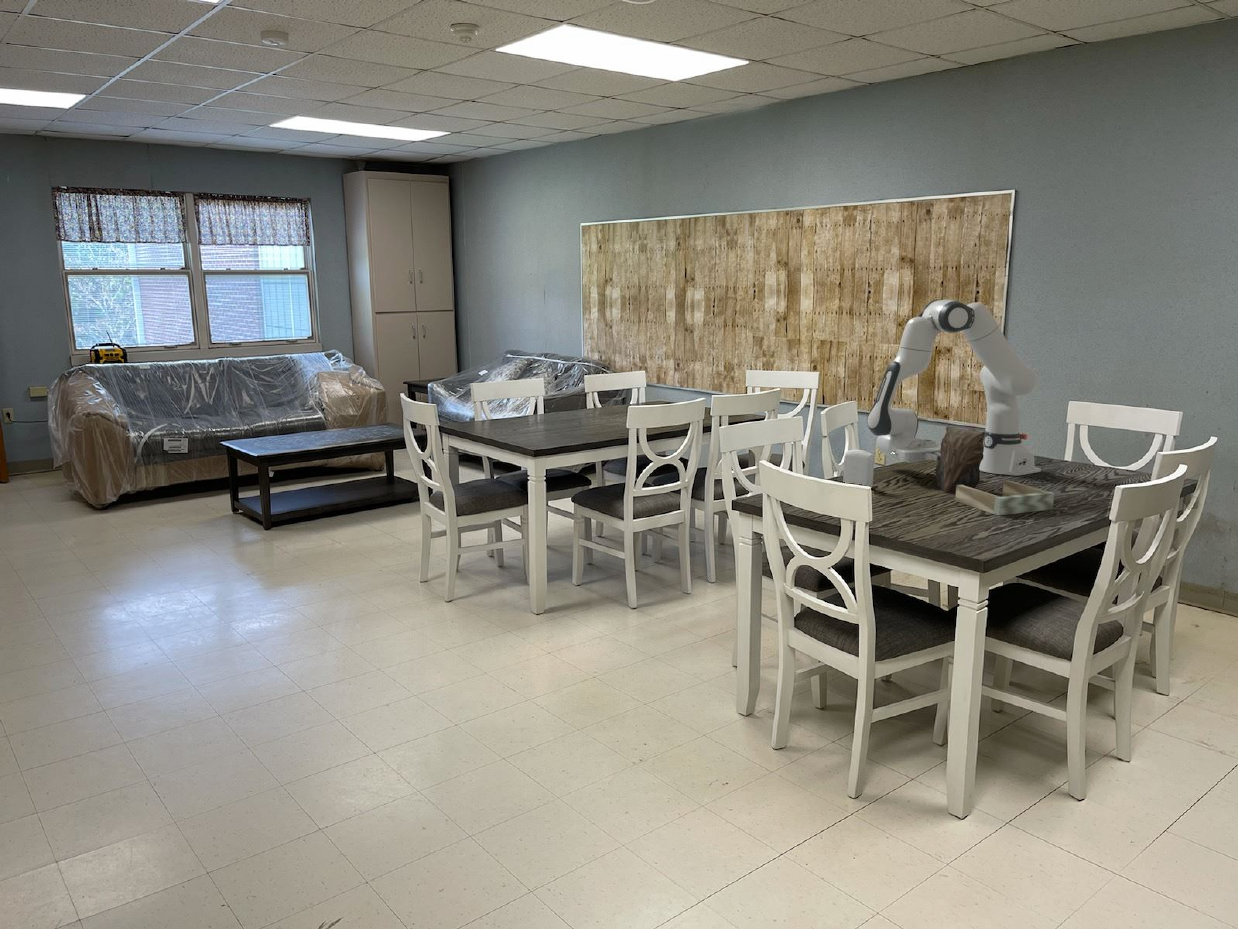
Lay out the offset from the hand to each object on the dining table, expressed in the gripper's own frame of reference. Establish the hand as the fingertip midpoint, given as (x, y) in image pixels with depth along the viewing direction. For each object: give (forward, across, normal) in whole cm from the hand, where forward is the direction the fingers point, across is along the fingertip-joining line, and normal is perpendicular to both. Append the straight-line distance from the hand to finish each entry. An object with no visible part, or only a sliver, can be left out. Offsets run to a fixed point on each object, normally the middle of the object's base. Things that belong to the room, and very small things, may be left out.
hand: (940, 458), depth 299 cm
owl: (+7, 0, +9) cm, 12 cm away
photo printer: (-6, -28, +9) cm, 30 cm away
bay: (+28, 0, +9) cm, 29 cm away
